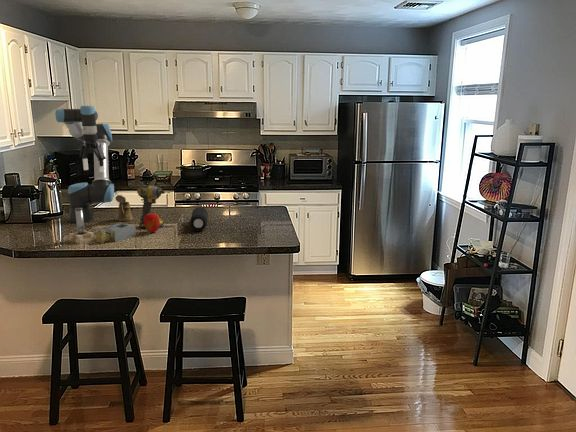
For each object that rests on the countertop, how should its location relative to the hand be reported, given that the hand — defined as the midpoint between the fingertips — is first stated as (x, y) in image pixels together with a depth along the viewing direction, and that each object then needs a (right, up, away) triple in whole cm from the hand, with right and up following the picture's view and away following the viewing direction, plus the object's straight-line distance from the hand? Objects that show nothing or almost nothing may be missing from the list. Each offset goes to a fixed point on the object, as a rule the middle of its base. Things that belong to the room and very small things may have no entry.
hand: (93, 170), depth 275 cm
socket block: (+18, -38, -8) cm, 42 cm away
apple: (+33, -36, +2) cm, 49 cm away
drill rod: (0, -39, -14) cm, 42 cm away
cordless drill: (+32, -33, +13) cm, 48 cm away
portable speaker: (+58, -33, +15) cm, 69 cm away
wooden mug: (+8, -29, +27) cm, 41 cm away
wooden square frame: (0, -39, -14) cm, 42 cm away
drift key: (+14, -39, -15) cm, 44 cm away
